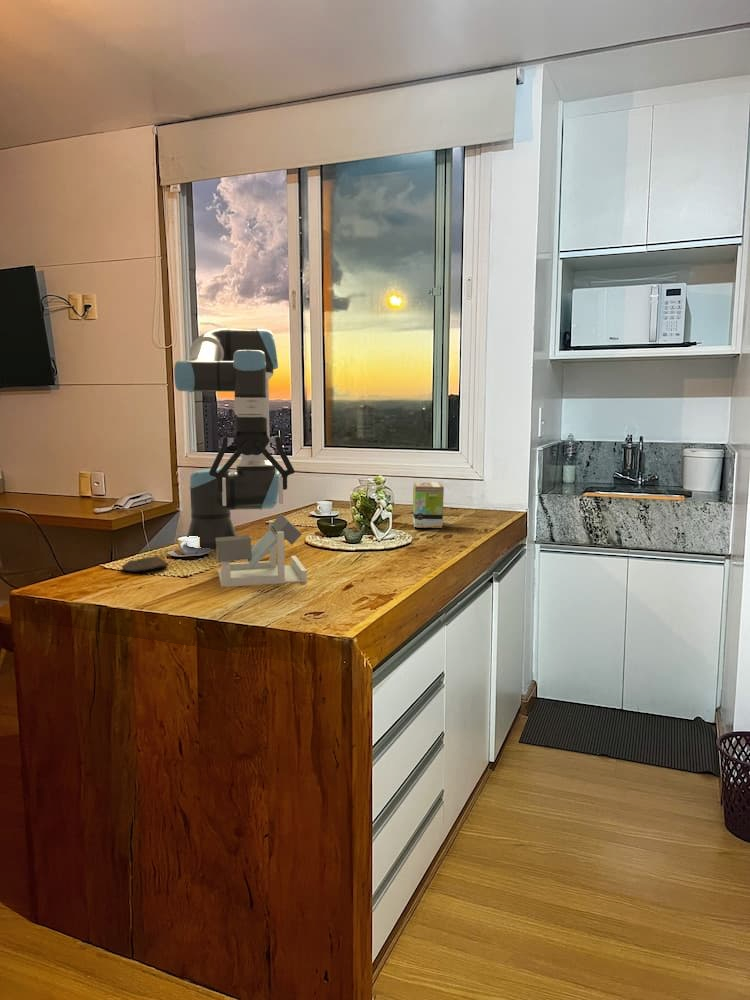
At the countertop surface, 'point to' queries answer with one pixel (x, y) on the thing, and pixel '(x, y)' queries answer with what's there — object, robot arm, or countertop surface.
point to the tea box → (428, 504)
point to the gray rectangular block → (233, 548)
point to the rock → (145, 564)
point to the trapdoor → (273, 539)
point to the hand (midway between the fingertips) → (252, 504)
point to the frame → (264, 568)
